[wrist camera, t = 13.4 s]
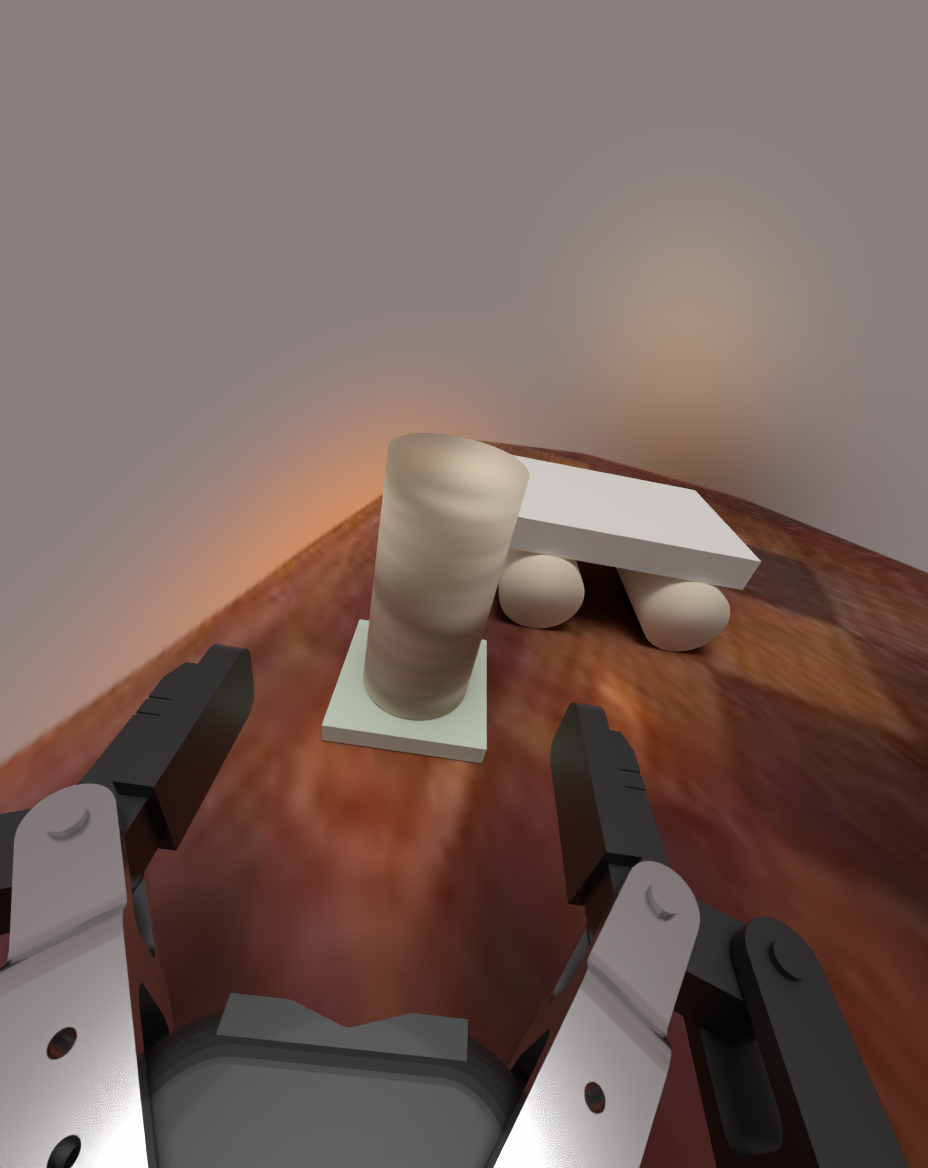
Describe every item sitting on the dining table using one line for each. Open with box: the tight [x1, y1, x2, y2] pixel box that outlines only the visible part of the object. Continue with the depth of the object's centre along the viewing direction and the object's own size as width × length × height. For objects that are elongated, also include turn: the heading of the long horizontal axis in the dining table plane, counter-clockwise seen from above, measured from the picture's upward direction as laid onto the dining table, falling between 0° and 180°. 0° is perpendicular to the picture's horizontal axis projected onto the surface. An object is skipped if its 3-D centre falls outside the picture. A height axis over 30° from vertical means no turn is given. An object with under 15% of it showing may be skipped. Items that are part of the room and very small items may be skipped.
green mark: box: [322, 620, 487, 763], centre depth 23 cm, size 7×7×1 cm
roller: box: [363, 433, 530, 720], centre depth 19 cm, size 5×5×11 cm
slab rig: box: [498, 455, 761, 651], centre depth 32 cm, size 14×11×7 cm
